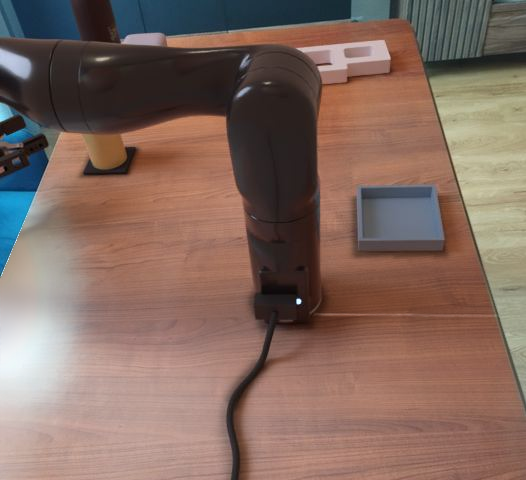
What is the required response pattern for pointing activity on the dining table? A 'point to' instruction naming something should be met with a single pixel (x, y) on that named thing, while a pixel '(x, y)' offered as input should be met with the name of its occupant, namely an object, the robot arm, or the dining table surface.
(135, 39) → the charger
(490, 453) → the dining table surface
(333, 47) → the holder
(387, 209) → the tray
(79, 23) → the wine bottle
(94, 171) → the coaster
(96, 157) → the cup
